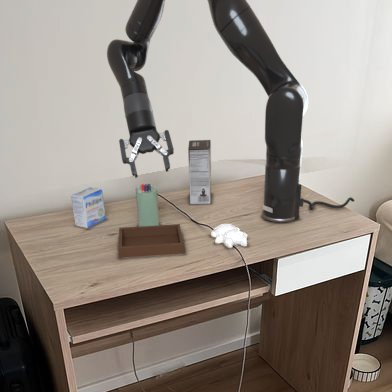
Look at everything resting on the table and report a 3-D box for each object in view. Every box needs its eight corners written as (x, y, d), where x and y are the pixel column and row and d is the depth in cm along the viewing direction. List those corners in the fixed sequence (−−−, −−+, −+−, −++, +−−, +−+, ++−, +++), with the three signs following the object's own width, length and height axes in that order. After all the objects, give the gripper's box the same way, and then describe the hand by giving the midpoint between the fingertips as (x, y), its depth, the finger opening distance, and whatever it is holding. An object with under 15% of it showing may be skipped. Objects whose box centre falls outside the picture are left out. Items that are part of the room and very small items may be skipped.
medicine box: (87, 229, 145) (82, 197, 141) (75, 226, 147) (70, 194, 143) (106, 219, 151) (102, 188, 146) (94, 216, 153) (90, 186, 148)
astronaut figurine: (218, 250, 133) (218, 238, 131) (207, 231, 142) (207, 220, 141) (253, 246, 134) (253, 235, 132) (240, 228, 144) (240, 217, 142)
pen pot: (158, 221, 149) (156, 178, 142) (159, 229, 144) (157, 185, 137) (138, 222, 148) (134, 179, 142) (138, 230, 144) (134, 186, 137)
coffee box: (190, 194, 167) (188, 139, 158) (211, 193, 167) (210, 139, 157) (189, 204, 159) (187, 148, 150) (211, 204, 159) (211, 147, 150)
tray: (180, 234, 141) (179, 223, 140) (184, 254, 131) (183, 243, 129) (120, 237, 140) (119, 227, 139) (119, 258, 130) (118, 247, 128)
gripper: (112, 114, 143) (125, 174, 143) (164, 104, 144) (177, 163, 144) (115, 125, 151) (127, 183, 151) (165, 116, 151) (177, 173, 151)
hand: (151, 173), depth 147 cm, fingers open, 8 cm apart
